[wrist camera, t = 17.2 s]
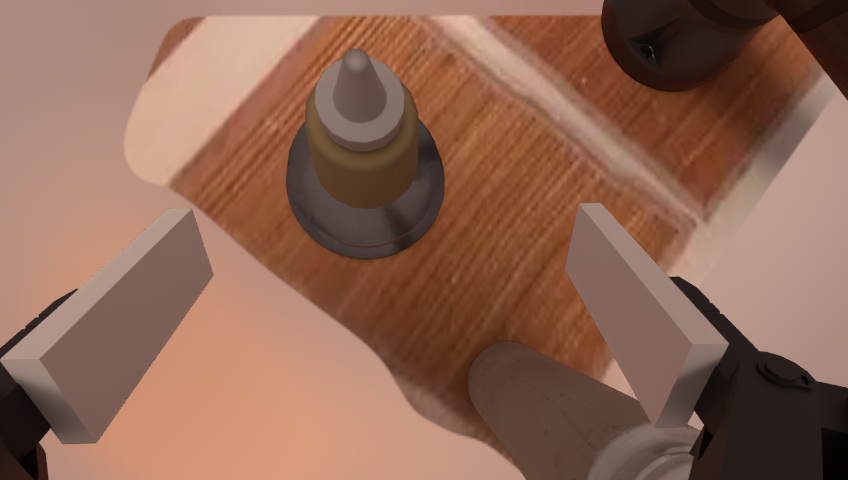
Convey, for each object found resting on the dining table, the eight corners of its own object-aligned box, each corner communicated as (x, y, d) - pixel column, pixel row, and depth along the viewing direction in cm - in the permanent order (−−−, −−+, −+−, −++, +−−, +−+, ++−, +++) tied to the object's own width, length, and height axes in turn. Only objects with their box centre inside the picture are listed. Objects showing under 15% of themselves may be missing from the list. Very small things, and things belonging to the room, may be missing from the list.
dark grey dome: (440, 107, 42) (448, 85, 37) (446, 256, 40) (455, 253, 35) (287, 106, 40) (274, 83, 35) (289, 261, 39) (275, 259, 34)
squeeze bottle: (358, 105, 36) (337, -66, 18) (433, 161, 36) (487, 50, 18) (299, 177, 34) (214, 74, 17) (377, 235, 35) (375, 194, 17)
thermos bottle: (542, 428, 40) (913, 780, 12) (462, 420, 39) (665, 775, 11) (551, 346, 41) (918, 499, 13) (472, 336, 40) (686, 477, 12)
